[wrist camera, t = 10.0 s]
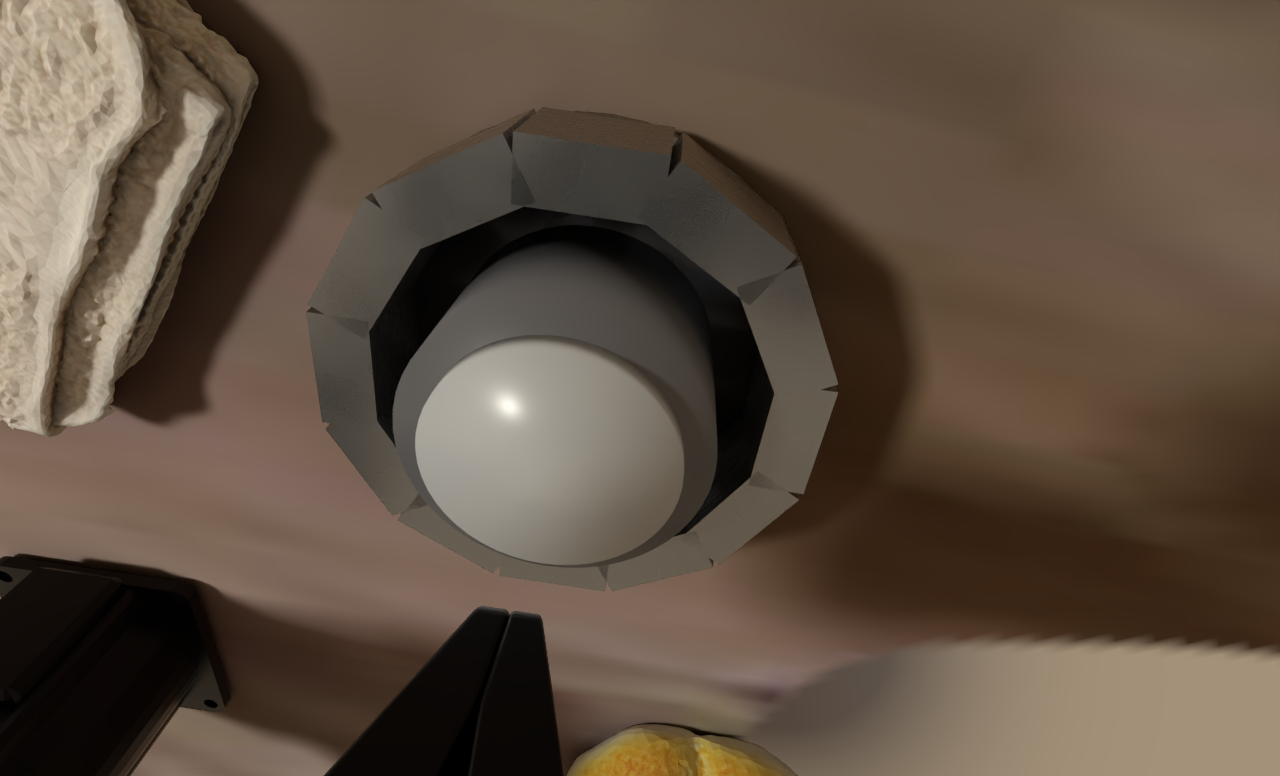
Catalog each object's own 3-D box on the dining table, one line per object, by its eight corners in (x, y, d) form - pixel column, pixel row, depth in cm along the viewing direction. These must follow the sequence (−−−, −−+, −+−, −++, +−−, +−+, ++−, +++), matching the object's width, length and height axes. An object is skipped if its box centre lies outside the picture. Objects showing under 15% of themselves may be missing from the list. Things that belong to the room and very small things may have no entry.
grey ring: (753, 531, 19) (761, 614, 16) (388, 476, 19) (341, 552, 16) (867, 153, 13) (906, 192, 11) (353, 73, 13) (274, 94, 11)
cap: (689, 467, 17) (688, 605, 13) (460, 434, 17) (393, 563, 13) (736, 246, 14) (751, 344, 10) (456, 205, 14) (366, 288, 10)
